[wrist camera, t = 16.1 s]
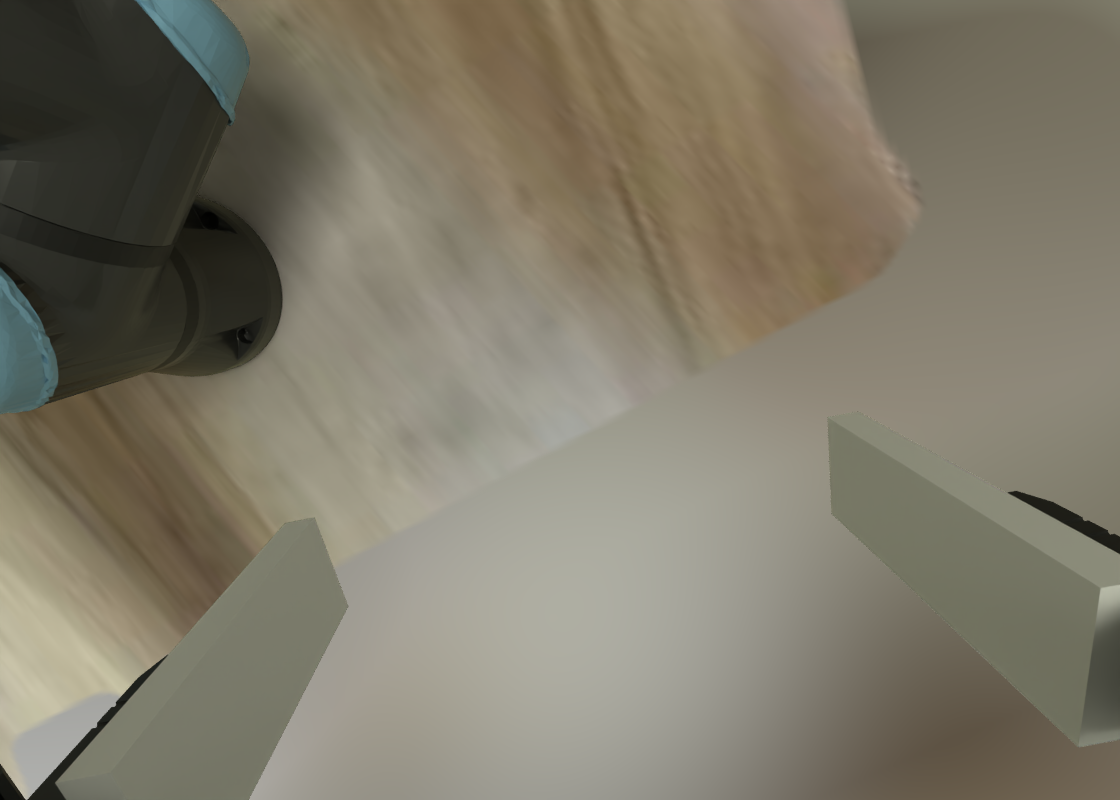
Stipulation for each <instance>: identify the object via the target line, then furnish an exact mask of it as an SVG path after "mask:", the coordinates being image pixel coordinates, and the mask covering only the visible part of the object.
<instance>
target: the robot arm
mask: <svg viewBox="0 0 1120 800" xmlns="http://www.w3.org/2000/svg"><path fill="white" fill-rule="evenodd" d="M248 70H249V55H248V51H247V48H246V44H245V42H244V40H243V38H242V36H241V35H240V32H239V31H238V29H237V28H236V27H235V25H234V24H233V23H232V22H231V20H230V19H229V18H228V17H227V16H226V15H225V14H224V13H223V12H222V10H221V9H220V8H219V7H218V6H217V5H216V4H215V3H214V2H213V1H212V0H0V414H3V413H16V412H21V411H30V410H33V409H36V408H39V407H41V406H42V405H44V404H48V403H51V402H54V401H57V400H60V399H64V398H67V397H70V396H73V395H76V394H80V393H83V392H86V391H89V390H92V389H95V388H99V387H102V386H105V385H108V384H111V383H115V382H118V381H121V380H124V379H127V378H130V377H134V376H137V375H140V374H143V373H146V372H154V373H162V374H170V375H178V376H190V377H194V376H206V375H212V374H217V373H220V372H223V371H226V370H229V369H232V368H235V367H237V366H240V365H242V364H244V363H246V362H248V361H249V360H251V359H252V358H254V357H255V356H256V355H257V354H259V353H260V352H261V351H262V350H263V348H264V347H265V346H266V345H267V344H268V342H269V341H270V339H271V338H272V336H273V334H274V332H275V330H276V327H277V325H278V321H279V318H280V313H281V304H282V293H281V285H280V280H279V276H278V272H277V269H276V266H275V264H274V261H273V259H272V257H271V255H270V253H269V251H268V249H267V248H266V246H265V245H264V243H263V242H262V240H261V239H260V238H259V236H258V235H257V234H256V233H255V232H254V230H253V229H252V228H251V227H250V226H249V225H248V224H247V223H246V222H244V221H243V220H242V219H241V218H240V217H238V216H237V215H236V214H234V213H233V212H231V211H230V210H228V209H226V208H225V207H223V206H221V205H219V204H217V203H214V202H212V201H210V200H207V199H204V198H200V197H196V195H197V193H198V191H199V188H200V186H201V184H202V181H203V179H204V177H205V174H206V172H207V170H208V168H209V165H210V163H211V161H212V158H213V156H214V154H215V151H216V149H217V147H218V144H219V142H220V140H221V137H222V135H223V133H224V131H225V128H226V126H227V125H229V126H231V125H233V123H234V121H235V110H234V108H235V106H236V103H237V100H238V98H239V95H240V92H241V90H242V87H243V84H244V82H245V79H246V76H247V74H248ZM828 439H829V462H830V463H829V464H830V487H831V512H832V515H833V516H834V517H835V518H836V519H838V520H839V521H840V522H841V523H842V524H843V525H844V526H845V527H846V528H847V529H848V530H849V531H850V532H851V533H852V534H854V535H855V536H856V537H857V538H858V539H859V540H860V541H861V542H862V543H863V544H864V545H865V546H866V547H867V548H868V549H869V550H870V551H871V552H872V553H874V554H875V555H876V556H877V557H878V558H879V559H880V560H881V561H882V562H883V563H884V564H885V565H886V566H887V567H888V568H889V569H890V570H891V571H893V572H894V573H895V574H896V575H897V576H898V577H899V578H900V579H901V580H902V581H903V582H904V583H905V584H906V585H907V586H908V587H909V588H911V589H912V590H913V591H914V592H915V593H916V594H917V595H918V596H919V597H920V598H921V599H922V600H923V601H924V602H925V603H926V604H927V605H929V607H931V608H932V609H933V610H934V611H935V612H936V613H937V614H938V615H939V616H940V617H941V618H942V619H943V620H944V621H945V622H946V623H947V624H949V625H950V626H951V627H952V628H953V629H954V630H955V631H956V632H957V633H958V634H959V635H960V636H961V637H962V638H963V639H964V640H965V641H966V642H968V643H969V644H970V645H971V646H972V647H973V648H974V649H975V650H976V651H977V652H978V653H979V654H980V655H981V656H983V658H985V659H986V660H987V661H988V662H989V663H990V664H991V665H992V666H993V667H994V668H995V669H996V670H997V671H998V672H999V673H1000V674H1001V675H1002V676H1003V677H1005V678H1006V679H1007V680H1008V681H1009V682H1010V683H1011V684H1012V685H1013V686H1014V687H1015V688H1016V689H1017V690H1018V691H1019V692H1020V693H1022V694H1023V695H1024V696H1025V697H1026V698H1027V699H1028V700H1029V701H1030V702H1031V703H1032V704H1033V705H1034V706H1035V707H1036V708H1037V709H1038V710H1039V711H1041V712H1042V713H1043V714H1044V715H1045V716H1046V717H1047V718H1048V719H1049V720H1050V721H1051V722H1052V723H1053V724H1054V725H1055V726H1056V727H1057V728H1059V729H1060V730H1061V731H1062V732H1063V733H1064V734H1065V735H1066V736H1067V737H1068V738H1069V739H1070V740H1071V741H1072V742H1073V743H1074V744H1075V745H1076V746H1077V747H1082V746H1087V745H1094V744H1099V743H1105V742H1110V741H1115V740H1120V537H1119V536H1118V535H1116V534H1111V535H1110V534H1109V533H1108V530H1106V529H1104V528H1102V527H1100V526H1098V525H1096V524H1094V523H1092V522H1090V521H1084V520H1083V518H1082V517H1081V516H1079V515H1077V514H1075V513H1073V512H1071V511H1069V510H1067V509H1065V508H1063V507H1061V506H1059V505H1057V504H1056V503H1054V502H1051V501H1047V500H1045V499H1041V498H1038V497H1035V496H1031V495H1028V494H1025V493H1021V492H1018V491H1014V492H1008V493H1007V492H1004V491H1003V490H1001V489H999V488H998V487H996V486H994V485H992V484H990V483H988V482H986V481H985V480H983V479H981V478H979V477H977V476H975V475H974V474H972V473H970V472H968V471H966V470H965V469H963V468H961V467H959V466H957V465H955V464H954V463H952V462H950V461H948V460H946V459H944V458H943V457H941V456H939V455H937V454H935V453H933V452H932V451H930V450H928V449H926V448H924V447H922V446H921V445H919V444H917V443H915V442H913V441H911V440H910V439H908V438H906V437H904V436H902V435H900V434H899V433H897V432H895V431H893V430H891V429H890V428H887V427H886V426H884V425H882V424H880V423H879V422H877V421H875V420H873V419H871V418H869V417H868V416H866V415H864V414H862V413H860V412H858V411H857V412H852V413H847V414H842V415H837V416H832V417H828ZM347 608H348V604H347V602H346V599H345V597H344V594H343V591H342V589H341V586H340V583H339V581H338V578H337V576H336V573H335V570H334V568H333V565H332V562H331V560H330V557H329V554H328V552H327V549H326V547H325V544H324V541H323V539H322V536H321V534H320V531H319V528H318V526H317V523H316V520H315V518H309V519H304V520H299V521H294V522H289V523H285V524H284V525H283V526H282V527H281V528H280V529H279V531H278V532H277V533H276V534H275V535H274V536H273V537H272V539H271V540H270V541H269V542H268V543H267V544H266V545H265V546H264V548H263V549H262V550H261V551H260V552H259V553H258V554H257V555H256V557H255V558H254V559H253V560H252V561H251V562H250V563H249V564H248V566H247V567H246V568H245V569H244V570H243V571H242V572H241V574H240V575H239V576H238V577H237V578H236V579H235V580H234V581H233V583H232V584H231V585H230V586H229V587H228V588H227V589H226V590H225V592H224V593H223V594H222V595H221V596H220V597H219V598H218V599H217V601H216V602H215V603H214V604H213V605H212V606H211V607H210V609H209V610H208V611H207V612H206V613H205V614H204V615H203V616H202V618H201V619H200V620H199V621H198V622H197V623H196V624H195V625H194V627H193V628H192V629H191V630H190V631H189V632H188V633H187V635H186V636H185V637H184V638H183V639H182V640H181V641H180V642H179V644H178V645H177V646H176V647H175V648H174V649H173V650H172V651H171V653H170V654H169V655H166V656H165V657H164V658H163V659H161V660H160V661H159V662H158V663H156V664H155V665H154V666H152V667H151V668H150V669H149V670H147V671H146V672H145V673H144V674H142V675H141V676H140V677H138V679H137V680H136V681H135V682H134V683H133V684H132V685H131V686H130V687H129V688H128V690H127V691H126V692H125V693H124V694H123V695H122V696H121V697H120V698H119V699H118V701H117V702H116V706H115V707H111V708H110V710H108V712H107V713H106V714H105V715H104V716H103V717H102V718H101V719H100V720H99V722H98V723H97V727H96V728H93V729H91V730H90V732H89V733H88V734H87V735H86V736H85V737H84V738H83V739H82V740H81V741H80V742H79V744H78V745H77V746H76V747H75V748H74V749H73V750H72V751H71V752H70V753H69V755H68V756H67V757H66V758H65V759H64V760H63V761H62V762H61V763H60V765H59V766H58V767H57V768H56V769H55V770H54V771H53V772H52V773H51V774H50V775H49V777H48V778H47V779H46V780H45V781H44V782H43V783H42V784H41V785H40V787H39V788H38V789H37V790H36V791H35V792H34V793H33V794H32V795H31V796H30V797H29V799H28V800H249V798H250V796H251V794H252V792H253V790H254V788H255V786H256V784H257V783H258V780H259V779H260V777H261V775H262V773H263V771H264V769H265V767H266V765H267V763H268V761H269V759H270V757H271V755H272V753H273V751H274V750H275V748H276V746H277V744H278V741H279V740H280V738H281V736H282V734H283V732H284V730H285V728H286V726H287V724H288V722H289V720H290V719H291V716H292V714H293V713H294V711H295V709H296V707H297V705H298V703H299V701H300V699H301V697H302V695H303V693H304V691H305V689H306V687H307V686H308V684H309V682H310V680H311V678H312V676H313V674H314V672H315V670H316V668H317V666H318V664H319V662H320V660H321V658H322V656H323V654H324V653H325V651H326V649H327V647H328V645H329V643H330V641H331V639H332V637H333V635H334V633H335V631H336V629H337V627H338V625H339V623H340V621H341V620H342V618H343V616H344V614H345V612H346V610H347ZM0 800H25V798H24V797H23V795H22V794H21V793H20V791H19V790H18V788H17V787H16V786H15V784H14V783H13V781H12V780H11V778H10V777H9V776H8V774H7V773H6V771H5V770H4V768H3V767H2V766H1V764H0Z"/></svg>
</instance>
